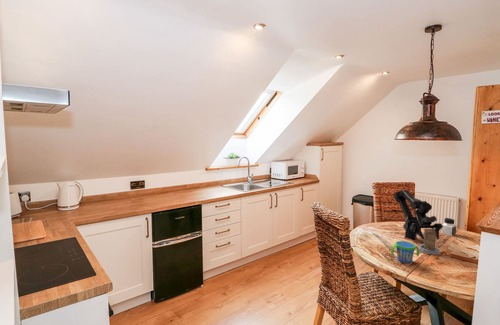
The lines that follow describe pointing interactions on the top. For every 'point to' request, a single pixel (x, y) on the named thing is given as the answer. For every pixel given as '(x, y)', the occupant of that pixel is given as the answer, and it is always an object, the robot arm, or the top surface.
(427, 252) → the gray bowl
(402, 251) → the snack cup
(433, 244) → the walnut block
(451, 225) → the medicine bottle
